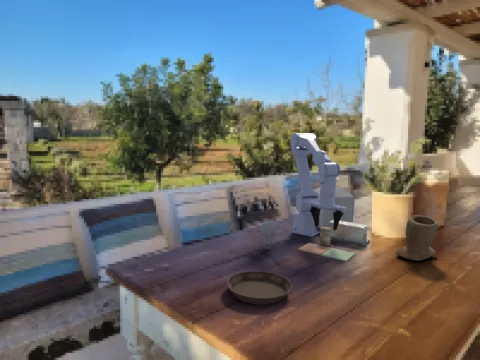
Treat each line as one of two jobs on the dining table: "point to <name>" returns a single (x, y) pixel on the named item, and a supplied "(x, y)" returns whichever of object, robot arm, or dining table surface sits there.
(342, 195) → the decorative block
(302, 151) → the robot arm
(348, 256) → the sage pad
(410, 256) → the stone cup
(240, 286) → the plant saucer
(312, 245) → the terracotta pad
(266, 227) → the lightbulb
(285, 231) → the dining table surface
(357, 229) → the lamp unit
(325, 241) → the fuse
